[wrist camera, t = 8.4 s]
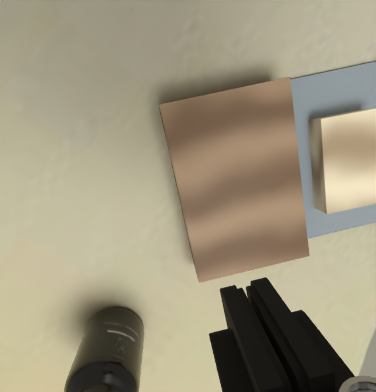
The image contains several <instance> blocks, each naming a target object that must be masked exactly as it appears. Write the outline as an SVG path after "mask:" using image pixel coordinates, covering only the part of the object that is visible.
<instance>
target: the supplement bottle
mask: <svg viewBox="0 0 376 392" xmlns="http://www.w3.org/2000/svg"><path fill="white" fill-rule="evenodd" d="M143 342H144V328H143V324H142V322H141V320H140V319H139V318H138V316H137V315H135V314H134V313H133V312H131V311H129V310H127V309H124V308H108V309H105V310H103V311H100V312H99V313H97V314H96V315H95V316H94V317H93V318H92V319H91V320H90V322H89V324H88V326H87V328H86V331H85V333H84V336H83V338H82V341H81V344H80V346H79V349H78V351H77V354H76V357H75V359H74V362H73V364H72V367H71V370H70V372H69V375H68V377H67V380H66V384H65V388H64V392H139V385H140V374H141V363H142V353H143Z"/></svg>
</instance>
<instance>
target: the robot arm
mask: <svg viewBox="0 0 376 392" xmlns="http://www.w3.org/2000/svg"><path fill="white" fill-rule="evenodd" d="M246 291H247V296H246V294H245V292H244V290H243V289H242V288H239V289H237V288H236V286H235V285H233V286H229V287H225V288H221V289H220V293H221V298H222V303H223V308H224V312H225V317H226V322H227V327H228V329H225V330H221V331H217V332H213V333H209V336H210V341H211V345H212V350H213V354H214V358H215V362H216V367H217V371H218V375H219V379H220V383H221V388H222V392H376V378H374V377H370V376H356V377H355V376H354V374H353V373H352V372H351V371H350V369H349V368H348V367H347V366H346V364H345V363H344V362H343V360H342V359H341V358H340V357H339V355H338V354H337V353H336V352H335V350H334V349H333V348H332V346H331V345H330V344H329V343H328V341H327V340H326V339H325V338H324V336H323V335H322V334H321V332H320V331H319V330H318V329H317V327H316V326H315V325H314V323H313V322H312V321H311V320H310V318H309V317H308V316H307V315H306V313H305V312H304V311H302V310H299V311H295V312H291V311H290V310H289V308H288V307H287V305H286V304H285V303H284V301H283V300H282V298H281V297H280V296H279V294H278V293H277V291H276V290H275V289H274V287H273V286H272V284H271V283H270V282H269V280H268V279H267V278H266V277H265V278H261V279H257V280H253V281H251V286H247V287H246ZM247 297H248V298H247Z"/></svg>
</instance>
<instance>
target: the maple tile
mask: <svg viewBox="0 0 376 392" xmlns="http://www.w3.org/2000/svg"><path fill="white" fill-rule="evenodd" d="M308 127H309V141H310V154H311V168H312V182H313V195H314V208H316V209H318V210H320V211H322V212H323V213H325V214H330V213H335V212H340V211H344V210H349V209H354V208H358V207H363V206H368V205H372V204H376V108H372V109H361V110H356V111H350V112H345V113H340V114H335V115H330V116H325V117H320V118H314V119H309V120H308Z"/></svg>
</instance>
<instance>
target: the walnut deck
mask: <svg viewBox="0 0 376 392" xmlns="http://www.w3.org/2000/svg"><path fill="white" fill-rule="evenodd" d="M159 109H160V113H161V117H162V122H163V126H164V131H165V135H166V140H167V144H168V149H169V153H170V158H171V162H172V167H173V171H174V176H175V180H176V185H177V189H178V194H179V198H180V203H181V207H182V212H183V216H184V221H185V225H186V229H187V234H188V238H189V243H190V247H191V252H192V256H193V261H194V265H195V269H196V273H197V277H198V280H199V283H200V282H204V281H208V280H212V279H217V278H221V277H225V276H229V275H233V274H237V273H241V272H245V271H249V270H253V269H258V268H262V267H266V266H270V265H274V264H278V263H282V262H286V261H290V260H295V259H299V258H303V257H307V256H309V248H308V238H307V229H306V220H305V210H304V201H303V192H302V182H301V173H300V164H299V154H298V145H297V136H296V127H295V117H294V108H293V99H292V89H291V80H290V77H287V78H282V79H278V80H273V81H268V82H264V83H259V84H254V85H249V86H245V87H240V88H235V89H230V90H226V91H221V92H216V93H211V94H207V95H202V96H197V97H192V98H188V99H183V100H178V101H173V102H169V103H164V104H159Z"/></svg>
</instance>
